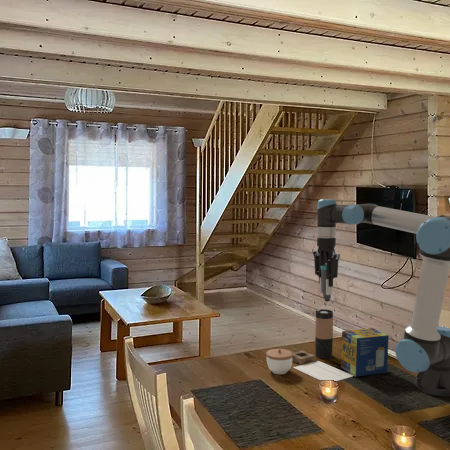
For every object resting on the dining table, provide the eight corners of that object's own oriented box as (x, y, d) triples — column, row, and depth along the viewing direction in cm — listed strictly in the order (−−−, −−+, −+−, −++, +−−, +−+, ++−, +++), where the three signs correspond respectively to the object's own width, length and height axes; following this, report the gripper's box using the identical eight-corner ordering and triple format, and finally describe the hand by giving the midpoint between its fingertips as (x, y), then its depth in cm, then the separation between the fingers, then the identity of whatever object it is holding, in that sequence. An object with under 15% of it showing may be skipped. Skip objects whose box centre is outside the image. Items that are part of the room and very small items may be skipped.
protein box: (340, 367, 201) (341, 330, 200) (371, 364, 206) (373, 327, 205) (355, 377, 191) (356, 338, 190) (388, 372, 196) (389, 334, 195)
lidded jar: (262, 374, 195) (262, 351, 194) (270, 365, 205) (270, 343, 204) (289, 378, 191) (289, 354, 190) (295, 368, 201) (295, 346, 200)
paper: (353, 376, 193) (353, 375, 193) (327, 384, 185) (327, 383, 185) (318, 361, 209) (318, 360, 209) (293, 367, 202) (293, 367, 202)
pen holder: (314, 361, 210) (315, 355, 210) (300, 364, 205) (300, 359, 205) (302, 355, 216) (302, 350, 216) (288, 359, 212) (288, 353, 212)
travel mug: (332, 359, 212) (333, 313, 211) (314, 358, 214) (315, 313, 212) (332, 353, 220) (333, 309, 218) (315, 352, 221) (315, 308, 220)
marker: (333, 300, 203) (330, 265, 201) (327, 302, 201) (325, 266, 199) (326, 299, 206) (324, 264, 204) (321, 301, 204) (318, 265, 202)
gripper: (347, 238, 196) (346, 295, 198) (319, 235, 210) (318, 289, 211) (334, 239, 192) (333, 298, 194) (306, 235, 206) (305, 291, 207)
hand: (325, 293), depth 202 cm, fingers closed on marker, 3 cm apart
